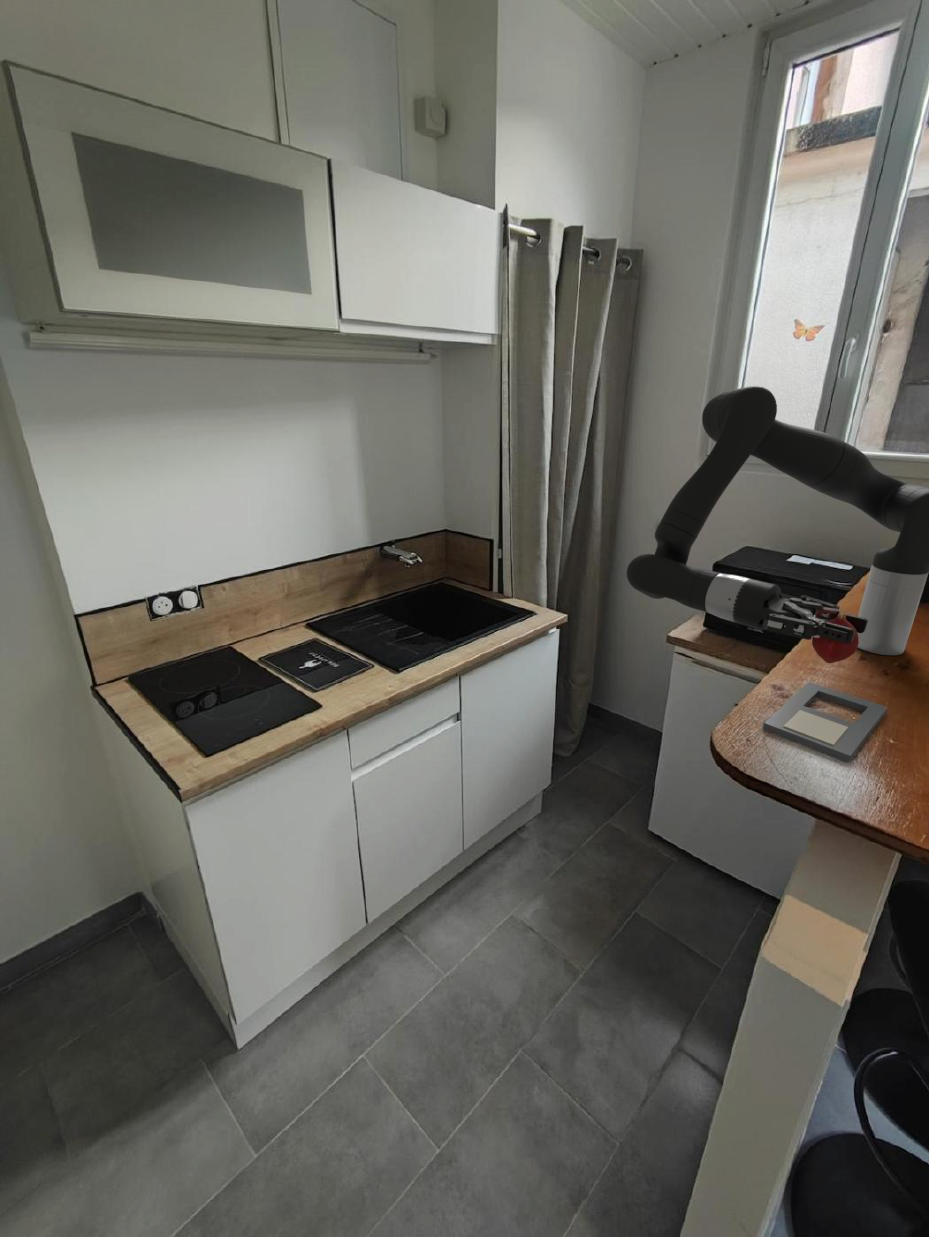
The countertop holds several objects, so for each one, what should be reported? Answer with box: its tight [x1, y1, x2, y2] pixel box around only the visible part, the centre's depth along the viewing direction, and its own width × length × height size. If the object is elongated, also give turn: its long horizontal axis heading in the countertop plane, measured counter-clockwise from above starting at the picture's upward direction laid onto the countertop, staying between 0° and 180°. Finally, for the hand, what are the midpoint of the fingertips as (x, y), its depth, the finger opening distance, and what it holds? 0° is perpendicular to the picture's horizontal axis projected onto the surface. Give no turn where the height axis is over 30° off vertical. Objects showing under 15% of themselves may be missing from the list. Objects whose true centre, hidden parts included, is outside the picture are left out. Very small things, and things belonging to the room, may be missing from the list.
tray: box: [762, 681, 889, 764], centre depth 92 cm, size 20×12×1 cm, turn 133°
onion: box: [811, 612, 859, 664], centre depth 84 cm, size 6×6×8 cm
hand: (859, 631), depth 82 cm, fingers closed on onion, 5 cm apart
